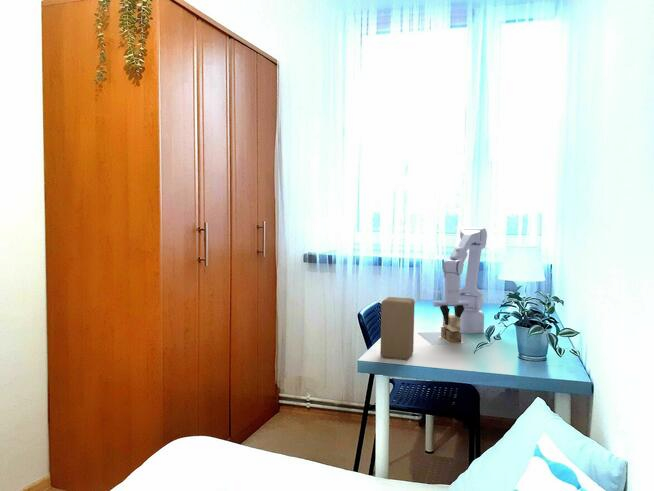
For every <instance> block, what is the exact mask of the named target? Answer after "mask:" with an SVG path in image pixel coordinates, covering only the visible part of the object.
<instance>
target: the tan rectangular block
mask: <svg viewBox="0 0 654 491" xmlns="http://www.w3.org/2000/svg"><path fill="white" fill-rule="evenodd" d="M460 322H461V318H459V317H457V316H455V314H454V313H449V317H448V325H445V321H444V317H443V316H442V327H445V328H447V329H448V330H450V331H460Z"/></svg>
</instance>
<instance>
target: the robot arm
mask: <svg viewBox="0 0 654 491" xmlns="http://www.w3.org/2000/svg"><path fill="white" fill-rule="evenodd" d="M459 237H460V242H459V244H458V247H455V248H454V249H453V251H452V253H451V255H450V256H449V258H447V259H445V261H444V262H443V265H442V272H443V278H444V279H445V280H444V300H433V301H432V303H433V304H432V306H433V307H434V308H435V307H439V309H440V312H441V314H442V318H443V317H444V321H445V325H448V317H449V314H450V308H449V307H453V309H454V315H455V316H457V317H459V318H461V322H460V332H461V334H483V333H484V334H485V315H484V314H485V313H484V311H482V308H483V303H484V302H483V293H482V291H481V290H480V289H479V288H477V286H478V279H479V272H480V264H481V254H482V250H483V249H485V248H486V245H487V240H488V232H487V229H486V228H485V227H483V226H482V227H473V226H472V227H470V226H469V227H467V226H462V227H461V229H460V231H459ZM468 250H469V251H468ZM468 252H469V253H468ZM467 257H468V258H467ZM466 259H467V266H466V274H465V275H466V276H465V282H464V284H465V285H464V287H462V288H461V275H462V274H463V271H464V267H465V264H464V263H465V262H466Z"/></svg>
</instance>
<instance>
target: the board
mask: <svg viewBox="0 0 654 491" xmlns="http://www.w3.org/2000/svg"><path fill="white" fill-rule="evenodd" d="M417 334H418V335H419V336H421V338H423V339H424V340H425V341H426V342H428V343H429V344H431V345H433V346H434V345H473V343H472V342H470V341H469V340H468V339H466V338H465V337H462V336H461V343H449V342H448V341H446V339H444V338H442V337H441V331H439V332H438V331H436V332H434V331H432V332H431V331H430V332H417Z"/></svg>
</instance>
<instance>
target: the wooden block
mask: <svg viewBox="0 0 654 491" xmlns="http://www.w3.org/2000/svg"><path fill="white" fill-rule="evenodd" d="M415 303H416V302H415V299H414V298H412V297H411V298H409V297H396V296H395V297H394V296H388V297H387V298H385V299H383V300H382V301H381V307H380V311H381V312H380V314H381V315H380V357H381V358H383V359H385V358H386V359H393V360H394V359H395V360H404V361H407V360H409V359H410V358H411V356H412V355H413V353H414V340H415V339H414V335H415V334H414V333H415Z"/></svg>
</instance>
